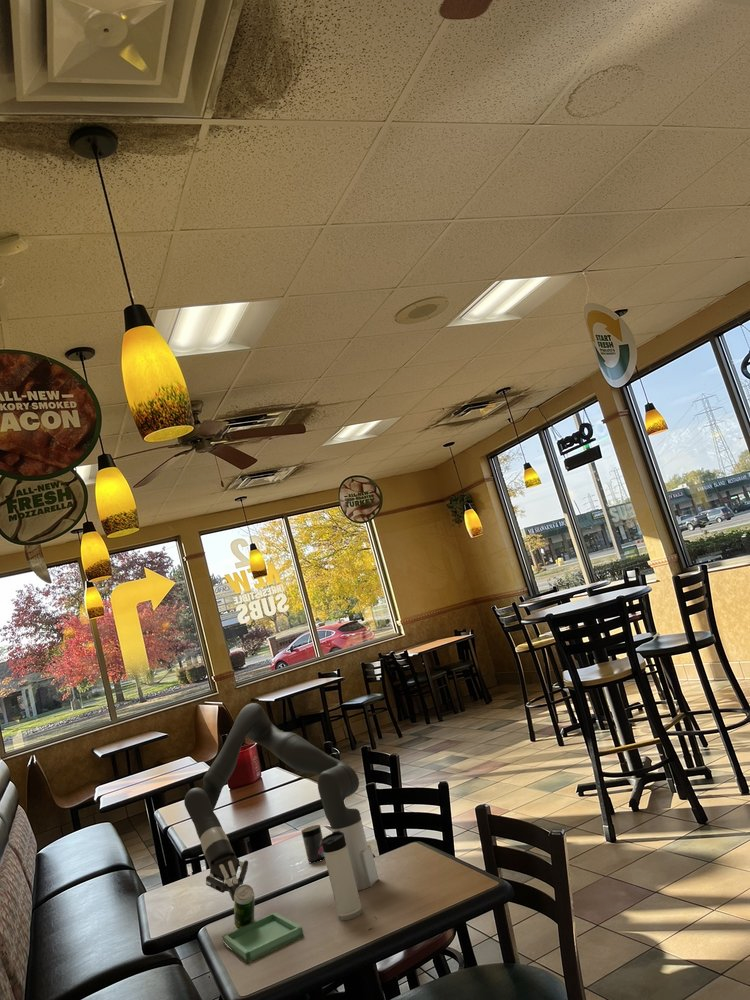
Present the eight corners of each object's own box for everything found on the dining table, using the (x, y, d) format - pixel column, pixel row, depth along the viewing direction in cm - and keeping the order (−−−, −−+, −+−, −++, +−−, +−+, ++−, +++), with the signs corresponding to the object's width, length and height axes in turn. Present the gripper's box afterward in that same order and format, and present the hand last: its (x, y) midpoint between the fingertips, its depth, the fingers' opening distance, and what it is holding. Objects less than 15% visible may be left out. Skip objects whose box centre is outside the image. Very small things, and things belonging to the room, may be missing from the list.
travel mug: (366, 907, 190) (347, 828, 194) (357, 919, 184) (338, 837, 188) (345, 911, 192) (326, 832, 196) (335, 922, 186) (316, 841, 189)
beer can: (243, 909, 202) (243, 880, 197) (258, 920, 199) (258, 890, 194) (230, 924, 198) (229, 894, 193) (245, 935, 195) (244, 905, 190)
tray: (224, 944, 191) (222, 935, 192) (276, 920, 199) (274, 912, 199) (247, 963, 174) (245, 953, 175) (303, 936, 182) (301, 926, 182)
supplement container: (318, 863, 244) (310, 831, 246) (304, 864, 248) (297, 832, 250) (331, 855, 249) (324, 824, 251) (317, 856, 253) (310, 825, 255)
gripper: (238, 847, 215) (260, 898, 203) (194, 865, 209) (214, 918, 196) (239, 831, 212) (262, 881, 199) (194, 848, 205) (215, 901, 192)
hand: (238, 899), depth 197 cm, fingers closed
